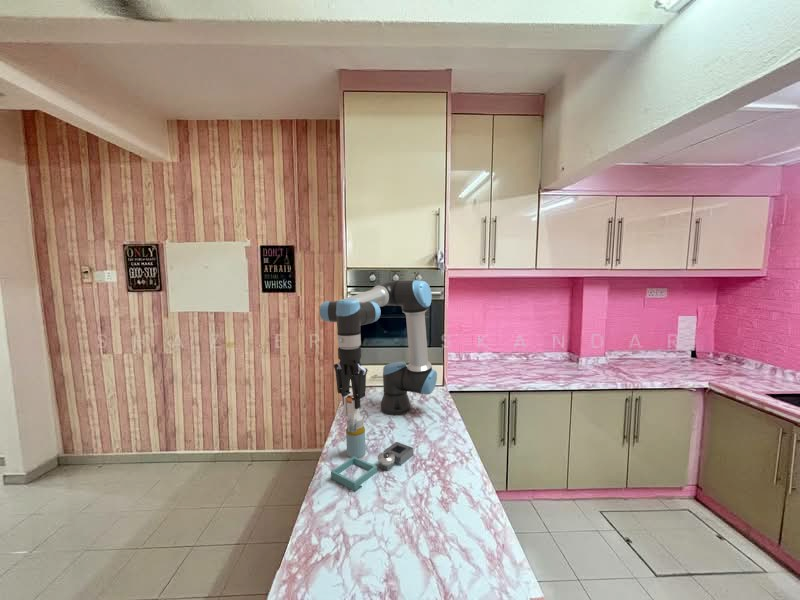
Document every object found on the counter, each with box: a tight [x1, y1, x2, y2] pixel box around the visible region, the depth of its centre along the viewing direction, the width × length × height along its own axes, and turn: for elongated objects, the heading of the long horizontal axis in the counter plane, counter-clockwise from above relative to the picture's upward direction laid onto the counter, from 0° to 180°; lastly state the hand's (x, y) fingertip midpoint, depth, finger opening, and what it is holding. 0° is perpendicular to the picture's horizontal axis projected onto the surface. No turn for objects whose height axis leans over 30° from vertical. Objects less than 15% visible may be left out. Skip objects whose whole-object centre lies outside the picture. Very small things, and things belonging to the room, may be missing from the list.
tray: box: [330, 457, 378, 493], centre depth 116 cm, size 11×11×3 cm
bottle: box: [345, 414, 367, 459], centre depth 128 cm, size 7×7×15 cm
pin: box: [346, 394, 357, 433], centre depth 114 cm, size 3×3×12 cm
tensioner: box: [377, 441, 414, 472], centre depth 123 cm, size 14×8×5 cm, turn 143°
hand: (351, 415), depth 114 cm, fingers closed on pin, 3 cm apart
